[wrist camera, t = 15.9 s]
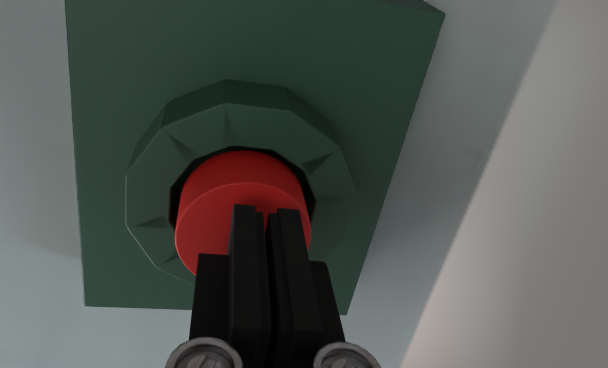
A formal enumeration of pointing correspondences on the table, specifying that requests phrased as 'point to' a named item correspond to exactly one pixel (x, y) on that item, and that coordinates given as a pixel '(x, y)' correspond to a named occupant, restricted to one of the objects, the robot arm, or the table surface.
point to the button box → (235, 122)
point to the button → (232, 200)
